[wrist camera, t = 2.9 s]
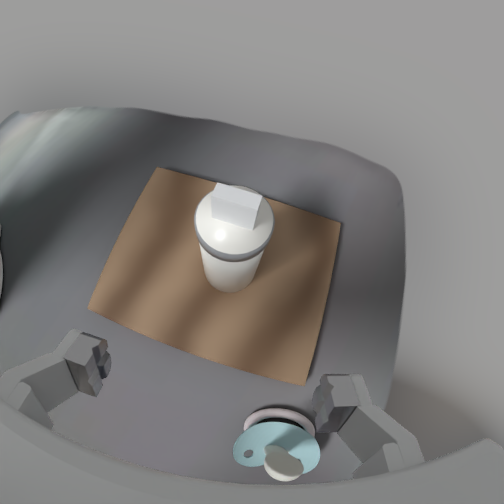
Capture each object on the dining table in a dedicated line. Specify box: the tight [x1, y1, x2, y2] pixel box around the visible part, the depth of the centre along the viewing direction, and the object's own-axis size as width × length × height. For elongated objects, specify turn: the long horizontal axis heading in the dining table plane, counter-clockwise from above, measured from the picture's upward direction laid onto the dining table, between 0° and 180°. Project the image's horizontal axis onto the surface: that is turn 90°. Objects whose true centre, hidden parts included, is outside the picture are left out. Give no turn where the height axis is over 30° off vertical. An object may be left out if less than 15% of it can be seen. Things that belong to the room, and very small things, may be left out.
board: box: [88, 167, 341, 386], centre depth 24 cm, size 20×16×1 cm
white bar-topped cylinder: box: [194, 182, 275, 293], centre depth 19 cm, size 5×5×11 cm
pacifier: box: [233, 408, 320, 481], centre depth 17 cm, size 7×6×6 cm
